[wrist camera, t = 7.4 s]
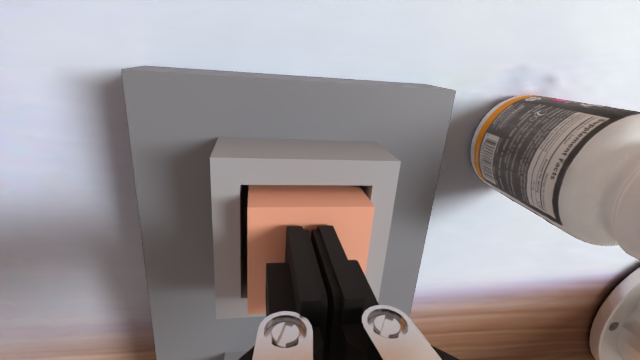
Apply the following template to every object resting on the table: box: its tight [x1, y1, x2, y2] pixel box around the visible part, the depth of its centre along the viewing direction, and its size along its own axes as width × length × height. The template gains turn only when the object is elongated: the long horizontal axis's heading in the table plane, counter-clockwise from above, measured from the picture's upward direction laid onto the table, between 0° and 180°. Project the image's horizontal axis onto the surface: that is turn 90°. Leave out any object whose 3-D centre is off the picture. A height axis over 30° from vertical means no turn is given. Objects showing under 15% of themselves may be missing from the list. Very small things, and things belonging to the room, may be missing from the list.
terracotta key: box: [247, 185, 375, 314], centre depth 14 cm, size 4×4×3 cm
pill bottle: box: [471, 95, 640, 260], centre depth 16 cm, size 6×6×10 cm
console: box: [121, 66, 456, 360], centre depth 18 cm, size 14×24×6 cm, turn 176°
